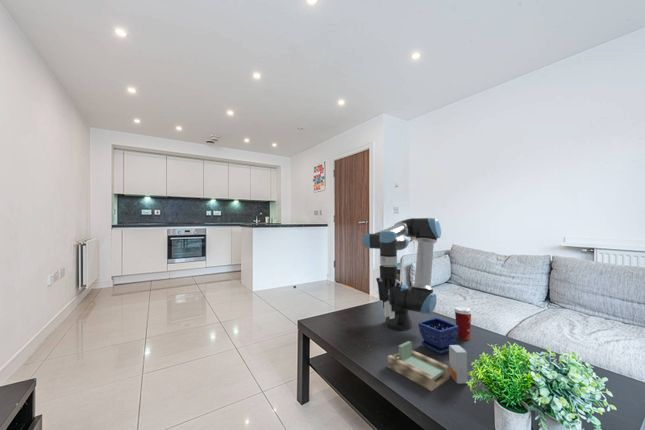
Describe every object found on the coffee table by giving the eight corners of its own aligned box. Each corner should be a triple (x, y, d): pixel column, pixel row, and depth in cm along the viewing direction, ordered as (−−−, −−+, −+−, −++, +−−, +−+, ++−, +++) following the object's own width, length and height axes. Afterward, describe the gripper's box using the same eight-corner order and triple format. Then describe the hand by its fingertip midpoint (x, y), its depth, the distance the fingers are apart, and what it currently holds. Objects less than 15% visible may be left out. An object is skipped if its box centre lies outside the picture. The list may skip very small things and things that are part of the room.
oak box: (387, 367, 112) (387, 356, 112) (406, 357, 120) (406, 347, 120) (431, 391, 96) (431, 378, 96) (449, 378, 104) (449, 366, 104)
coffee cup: (474, 341, 134) (474, 311, 134) (457, 340, 136) (456, 311, 136) (469, 334, 142) (468, 306, 143) (452, 333, 144) (452, 305, 144)
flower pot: (440, 358, 119) (440, 331, 119) (417, 345, 131) (417, 321, 131) (459, 351, 125) (459, 325, 125) (436, 339, 137) (435, 316, 137)
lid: (393, 361, 113) (393, 344, 113) (405, 355, 118) (405, 338, 118) (432, 381, 98) (431, 361, 99) (444, 373, 103) (443, 354, 104)
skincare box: (449, 374, 106) (448, 344, 106) (459, 374, 106) (458, 344, 107) (457, 384, 100) (456, 352, 100) (468, 383, 100) (467, 352, 100)
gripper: (370, 264, 124) (371, 314, 124) (397, 268, 112) (398, 324, 111) (381, 262, 128) (382, 310, 128) (407, 266, 116) (408, 320, 116)
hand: (389, 317), depth 120 cm, fingers open, 2 cm apart
